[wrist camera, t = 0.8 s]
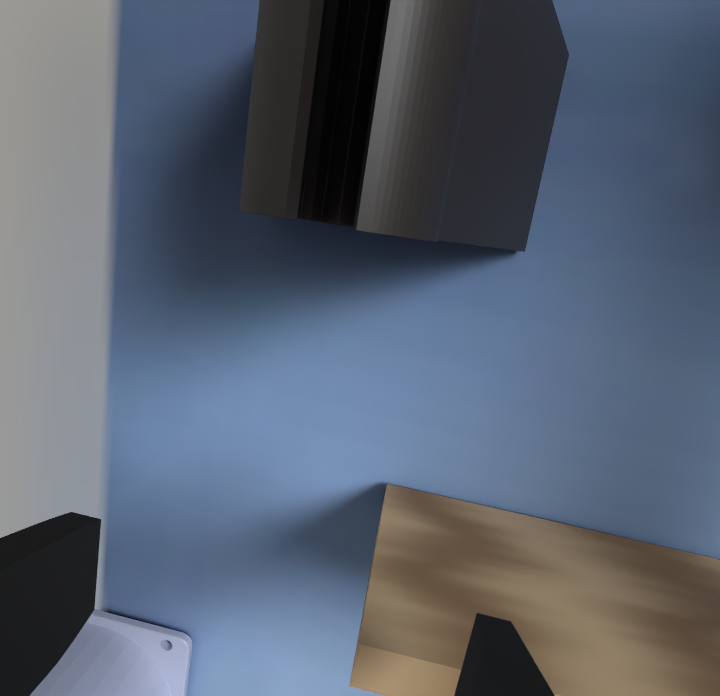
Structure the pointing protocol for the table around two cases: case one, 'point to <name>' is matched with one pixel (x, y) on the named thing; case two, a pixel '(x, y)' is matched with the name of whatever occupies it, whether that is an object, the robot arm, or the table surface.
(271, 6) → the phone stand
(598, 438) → the table surface
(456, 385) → the table surface
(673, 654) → the door
